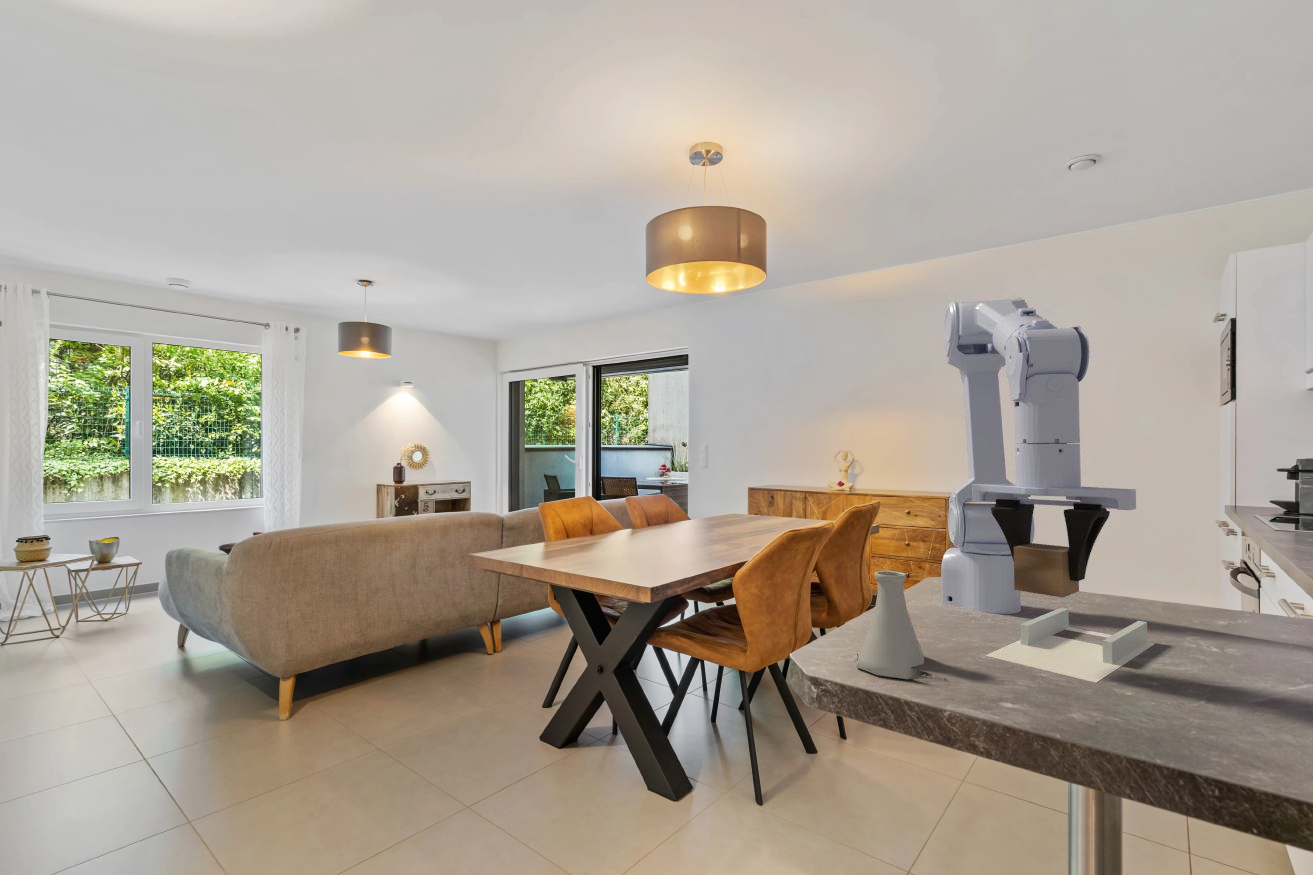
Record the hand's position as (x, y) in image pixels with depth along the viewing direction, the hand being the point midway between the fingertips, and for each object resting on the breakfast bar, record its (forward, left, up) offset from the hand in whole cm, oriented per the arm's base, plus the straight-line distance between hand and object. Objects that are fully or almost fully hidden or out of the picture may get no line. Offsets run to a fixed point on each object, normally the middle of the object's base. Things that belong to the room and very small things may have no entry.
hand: (1049, 575), depth 64 cm
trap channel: (0, +6, -10) cm, 12 cm away
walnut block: (0, -1, -1) cm, 2 cm away
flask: (-11, -12, -10) cm, 19 cm away
